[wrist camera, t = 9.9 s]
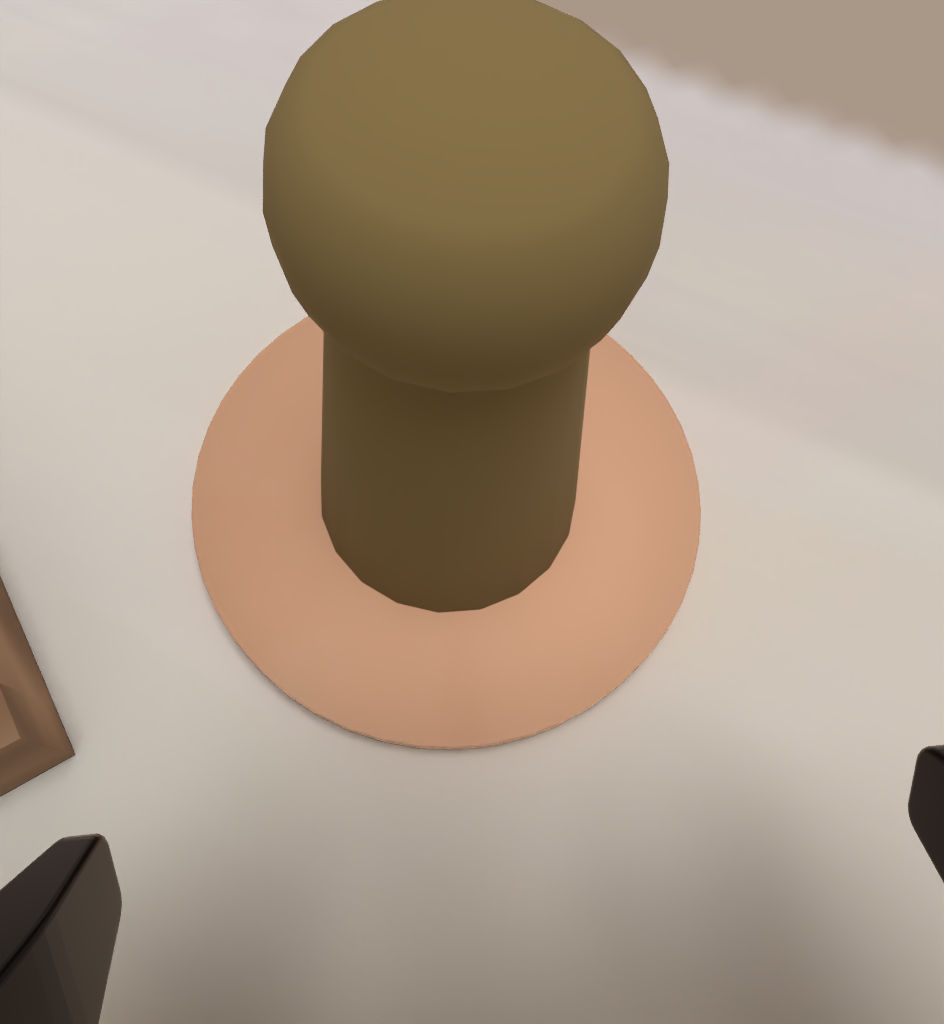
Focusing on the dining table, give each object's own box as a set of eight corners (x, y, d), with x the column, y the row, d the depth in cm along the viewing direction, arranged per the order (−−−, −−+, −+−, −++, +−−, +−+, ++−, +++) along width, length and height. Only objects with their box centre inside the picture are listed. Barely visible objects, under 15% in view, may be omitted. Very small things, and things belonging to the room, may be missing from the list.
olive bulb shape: (337, 370, 20) (247, -115, 10) (577, 390, 20) (724, -69, 10) (301, 602, 18) (138, 272, 8) (573, 622, 18) (762, 323, 8)
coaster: (562, 856, 17) (568, 856, 16) (95, 588, 19) (81, 576, 18) (758, 419, 21) (770, 403, 21) (366, 236, 23) (364, 215, 22)
